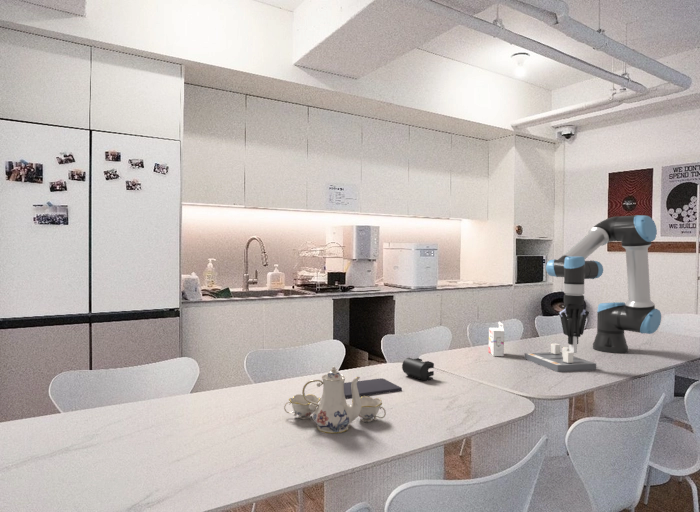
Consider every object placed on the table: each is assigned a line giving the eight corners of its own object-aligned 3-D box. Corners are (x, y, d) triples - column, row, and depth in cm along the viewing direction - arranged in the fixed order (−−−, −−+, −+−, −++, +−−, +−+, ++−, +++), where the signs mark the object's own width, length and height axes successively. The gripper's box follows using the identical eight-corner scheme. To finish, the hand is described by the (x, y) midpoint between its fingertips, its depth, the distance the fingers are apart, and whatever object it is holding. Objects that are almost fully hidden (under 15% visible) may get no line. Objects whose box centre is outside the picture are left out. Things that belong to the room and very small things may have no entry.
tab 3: (568, 360, 195) (568, 351, 195) (573, 362, 192) (573, 352, 192) (562, 361, 195) (563, 351, 195) (567, 362, 192) (568, 352, 192)
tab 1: (555, 352, 211) (555, 343, 211) (560, 353, 208) (560, 344, 208) (550, 352, 211) (550, 343, 211) (555, 354, 208) (555, 344, 208)
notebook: (344, 400, 151) (401, 392, 160) (344, 395, 151) (401, 387, 160) (328, 389, 162) (382, 382, 172) (328, 384, 162) (382, 378, 172)
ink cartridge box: (487, 352, 222) (488, 320, 222) (498, 352, 222) (499, 321, 222) (492, 356, 213) (493, 323, 213) (504, 357, 213) (504, 324, 213)
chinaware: (382, 419, 138) (383, 360, 139) (388, 435, 121) (389, 369, 123) (285, 418, 137) (287, 359, 139) (278, 435, 121) (280, 368, 122)
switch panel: (559, 357, 214) (559, 351, 214) (596, 369, 193) (596, 363, 193) (524, 358, 210) (524, 352, 210) (557, 371, 188) (557, 365, 188)
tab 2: (567, 356, 204) (567, 346, 204) (572, 357, 201) (572, 348, 201) (562, 356, 203) (562, 347, 203) (566, 358, 200) (567, 348, 200)
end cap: (401, 376, 178) (401, 358, 178) (415, 373, 183) (415, 356, 182) (420, 382, 170) (420, 363, 170) (434, 379, 174) (434, 361, 174)
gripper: (581, 293, 199) (580, 349, 199) (553, 293, 196) (553, 351, 196) (594, 295, 191) (593, 353, 192) (566, 295, 188) (565, 355, 189)
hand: (573, 352), depth 194 cm, fingers closed
